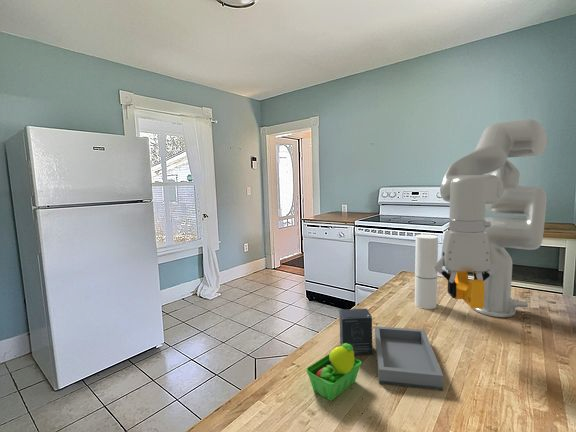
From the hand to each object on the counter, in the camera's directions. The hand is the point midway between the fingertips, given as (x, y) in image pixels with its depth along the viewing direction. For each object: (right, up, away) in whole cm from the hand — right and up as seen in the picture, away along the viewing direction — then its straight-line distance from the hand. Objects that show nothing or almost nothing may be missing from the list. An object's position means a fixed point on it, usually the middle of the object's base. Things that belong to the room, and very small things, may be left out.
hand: (463, 295), depth 79 cm
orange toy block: (0, -1, 0) cm, 1 cm away
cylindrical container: (+4, -12, +31) cm, 34 cm away
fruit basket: (-34, -18, -9) cm, 40 cm away
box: (-26, -16, +5) cm, 32 cm away
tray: (-15, -16, -1) cm, 22 cm away
